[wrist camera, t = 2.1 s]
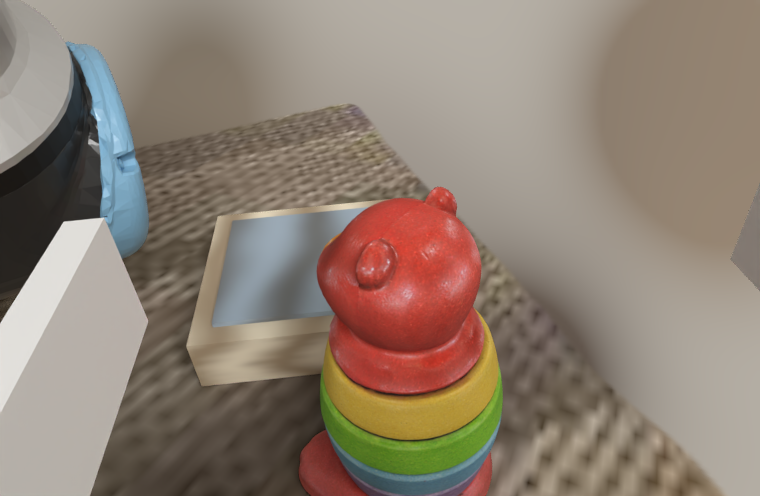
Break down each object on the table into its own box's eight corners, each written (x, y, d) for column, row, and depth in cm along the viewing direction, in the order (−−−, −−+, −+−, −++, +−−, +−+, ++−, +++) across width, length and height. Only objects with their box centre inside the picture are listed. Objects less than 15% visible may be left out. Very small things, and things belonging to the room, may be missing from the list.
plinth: (201, 386, 40) (184, 342, 37) (228, 253, 52) (216, 212, 49) (418, 363, 40) (417, 317, 37) (395, 236, 52) (393, 195, 49)
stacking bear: (403, 364, 40) (390, 130, 29) (532, 446, 35) (575, 194, 24) (284, 474, 34) (213, 229, 23) (417, 595, 28) (404, 347, 18)
